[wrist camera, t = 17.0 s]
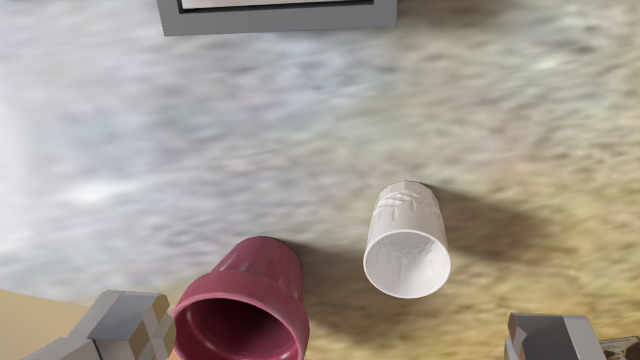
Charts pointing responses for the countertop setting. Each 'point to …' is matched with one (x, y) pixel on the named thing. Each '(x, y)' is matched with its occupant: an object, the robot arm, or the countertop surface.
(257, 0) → the pan
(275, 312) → the plant pot
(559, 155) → the countertop surface
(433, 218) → the white cup
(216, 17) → the scale housing
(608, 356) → the coffee box
